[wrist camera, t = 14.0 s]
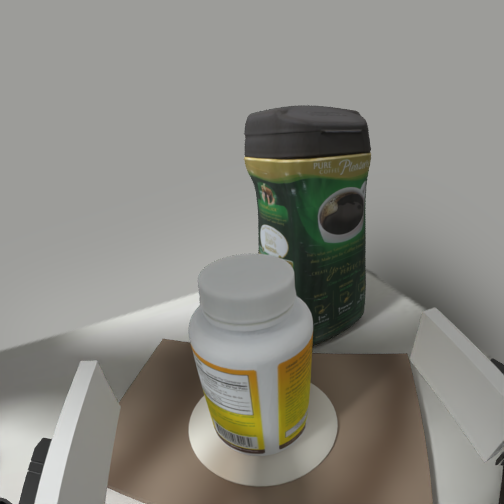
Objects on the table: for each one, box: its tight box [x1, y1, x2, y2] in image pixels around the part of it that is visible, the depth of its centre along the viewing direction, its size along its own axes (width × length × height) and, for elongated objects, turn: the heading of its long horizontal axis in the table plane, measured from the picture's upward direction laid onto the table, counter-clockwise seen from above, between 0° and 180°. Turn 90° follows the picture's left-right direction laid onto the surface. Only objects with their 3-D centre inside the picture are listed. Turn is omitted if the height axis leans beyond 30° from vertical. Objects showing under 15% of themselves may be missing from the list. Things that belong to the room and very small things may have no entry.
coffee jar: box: [244, 106, 371, 345], centre depth 25 cm, size 10×8×19 cm
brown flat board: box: [107, 339, 433, 504], centre depth 17 cm, size 20×14×1 cm
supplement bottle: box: [189, 254, 313, 456], centre depth 15 cm, size 6×6×10 cm
